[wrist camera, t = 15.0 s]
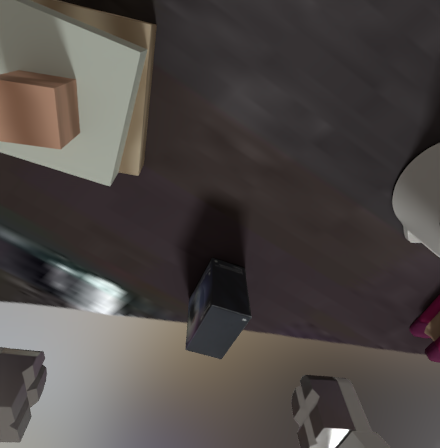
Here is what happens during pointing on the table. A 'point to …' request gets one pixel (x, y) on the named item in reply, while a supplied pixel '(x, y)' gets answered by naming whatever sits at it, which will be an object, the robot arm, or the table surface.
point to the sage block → (86, 84)
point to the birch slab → (145, 38)
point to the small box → (217, 309)
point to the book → (429, 329)
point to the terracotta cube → (38, 109)
